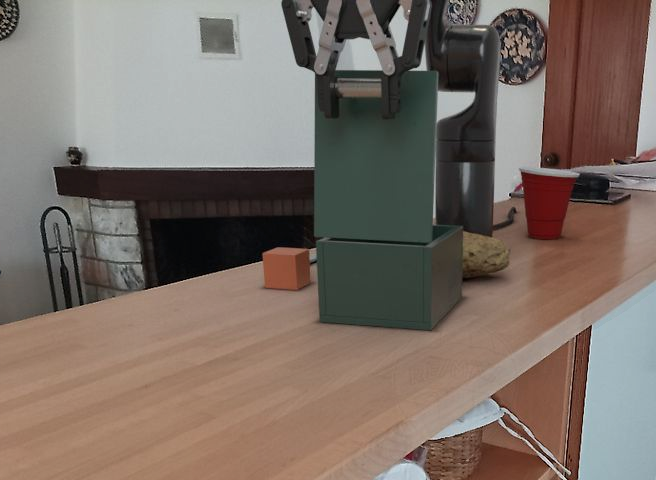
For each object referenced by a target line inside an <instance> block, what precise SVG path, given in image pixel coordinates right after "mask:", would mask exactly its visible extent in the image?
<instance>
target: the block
mask: <svg viewBox="0 0 656 480" xmlns="http://www.w3.org/2000/svg"><path fill="white" fill-rule="evenodd" d="M309 255H310V249H309V248H299V247H298V248H297V247H281V246H280V247H275V248H273V249H269V250H267V251H264V252H262V263H263V264H262V267H263V268H262V269H263V278H264V279H263V280H264V281H263V282H264V288H265V289H274V290H275V289H276V290H288V291H289V290H290V291H299V290H301V289H302V288H304V287H306V286H307V285H309V284H311V283H312V281H311V263H310V257H309Z"/></svg>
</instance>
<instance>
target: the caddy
mask: <svg viewBox="0 0 656 480" xmlns="http://www.w3.org/2000/svg"><path fill="white" fill-rule="evenodd" d="M315 253H316V257H317V260H316V274H317V275H316V277H317V296H318V315H319V322H320V323H329V324H340V325H341V324H342V325H343V324H344V325H355V326H368V327H380V328H381V327H382V328H392V329H393V328H395V329H406V330H420V331H421V330H422V331H432V330H433V329H434V328H435V327H436V326H437V325H438V324H439V322H440V321H441V320H442V319H443V318H444V317H445V316H446V315H447V314H448V313H449V312H450V311H451V310H452V308H454V306H456V304H457V303H458V302H459V301H461V299H462V298H463V278H462V267H463V226H454V225H435V223H433V230H432V243H418V242H399V241H381V240H362V239H343V238H324V237H322V238H321V239H318V240H316V241H315Z"/></svg>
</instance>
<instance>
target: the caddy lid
mask: <svg viewBox="0 0 656 480" xmlns="http://www.w3.org/2000/svg"><path fill="white" fill-rule="evenodd" d="M334 76H337V77H338V78H337V79H336V80H335V85H334V90H335V95H336V97H337V98H338V99H339V117H338V118H325V115H324V112H322V111H320V108H319V106H318V86H317V76H316V74H315V73H314V151H313V152H314V153H313V154H314V157H313V158H314V162H313V163H314V169H313V170H314V171H313V172H314V177H313V180H314V182H313V183H314V185H313V186H314V187H313V188H314V189H313V192H314V193H313V221H314V222H313V237H314V238H343V239H362V240H381V241H399V242H418V243H432V230H433V224H434V205H435V204H434V201H435V179H436V126H437V122H438V101H439V99H438V97H439V95H438V94H439V91H438V72H437V71H427V70H409V71H406V72H405V73H404V74H403V75H402V77H401V110H400V112H397V113H396V116H395V119H383V118H382V100H381V76H384V72H383V70H382V69H376V70H375V69H336V70H335V72H334Z"/></svg>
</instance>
